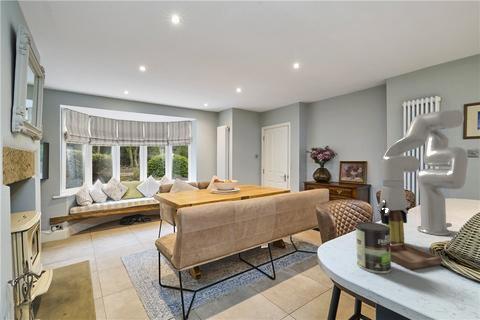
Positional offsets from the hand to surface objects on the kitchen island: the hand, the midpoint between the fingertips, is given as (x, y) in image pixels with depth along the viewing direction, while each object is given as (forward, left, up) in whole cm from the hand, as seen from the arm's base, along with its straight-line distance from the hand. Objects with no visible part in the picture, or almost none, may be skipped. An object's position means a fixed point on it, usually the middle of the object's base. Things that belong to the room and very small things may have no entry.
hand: (394, 223), depth 96 cm
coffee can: (+26, +14, -9) cm, 31 cm away
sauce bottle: (0, 0, -9) cm, 9 cm away
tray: (+10, +13, -9) cm, 18 cm away
